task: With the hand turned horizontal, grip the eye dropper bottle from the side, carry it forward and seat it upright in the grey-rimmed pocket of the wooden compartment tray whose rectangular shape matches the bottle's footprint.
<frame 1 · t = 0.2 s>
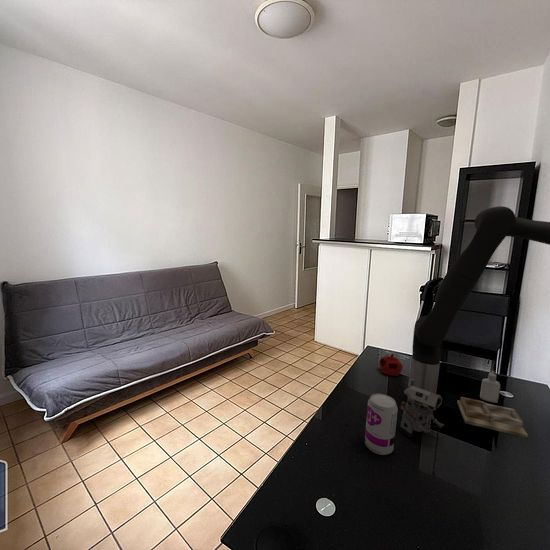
eye dropper bottle: (488, 400, 112), on the table
pomegranate: (389, 373, 132), on the table
figurine: (419, 434, 92), on the table
wooden compartment tray: (489, 418, 101), on the table
supplement can: (378, 446, 86), on the table
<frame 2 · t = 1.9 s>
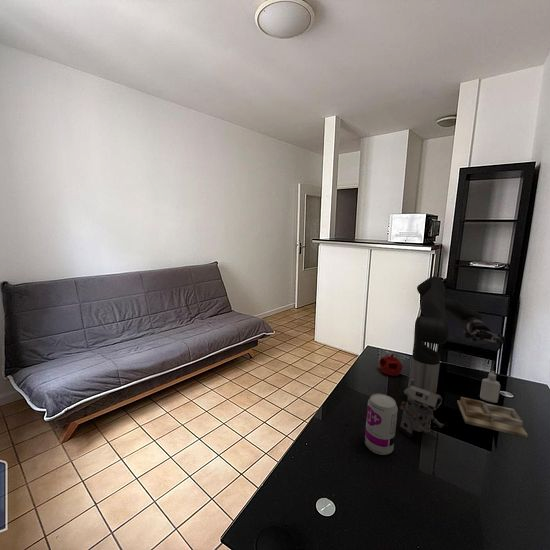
hand: (488, 341, 119), 20 cm above the table, tool horizontal, fingers open, 8 cm apart
nothing on the table moved.
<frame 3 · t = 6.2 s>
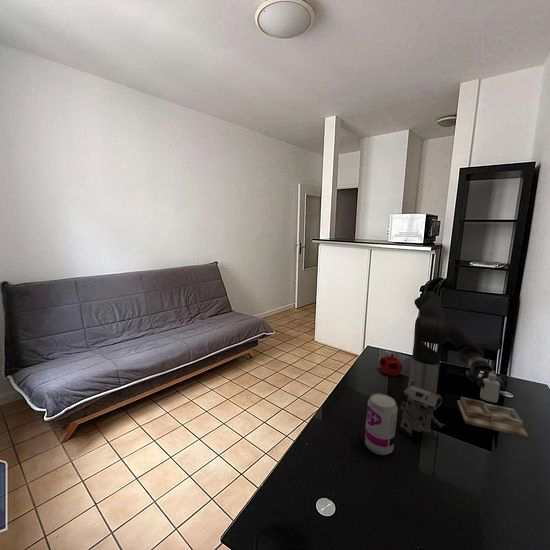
hand: (493, 387, 109), 7 cm above the table, tool horizontal, fingers closed on eye dropper bottle, 5 cm apart
eye dropper bottle: (488, 400, 112), on the table, touching gripper
everything else where it was.
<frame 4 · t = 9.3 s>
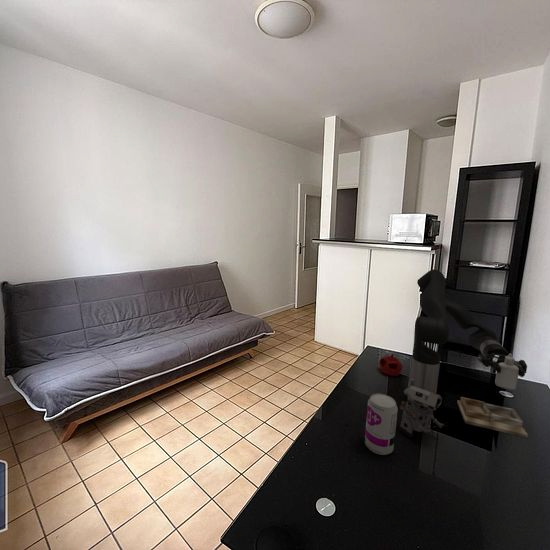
hand: (510, 372, 95), 19 cm above the table, tool horizontal, fingers closed on eye dropper bottle, 5 cm apart
eye dropper bottle: (504, 387, 99), point 12 cm above the table, touching gripper
everything else where it was.
when the fingers open (8 cm above the table, at t = 12.4 s): eye dropper bottle stays where it is, resting on wooden compartment tray.
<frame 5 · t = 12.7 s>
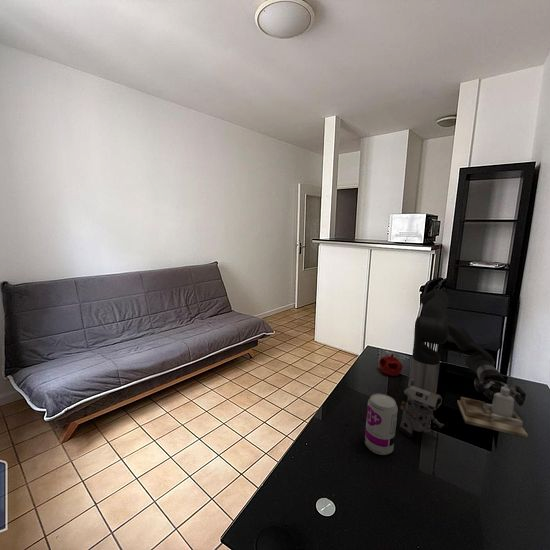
hand: (505, 400, 97), 9 cm above the table, tool horizontal, fingers open, 8 cm apart
eye dropper bottle: (500, 417, 100), point 1 cm above the table, touching wooden compartment tray
everything else where it was.
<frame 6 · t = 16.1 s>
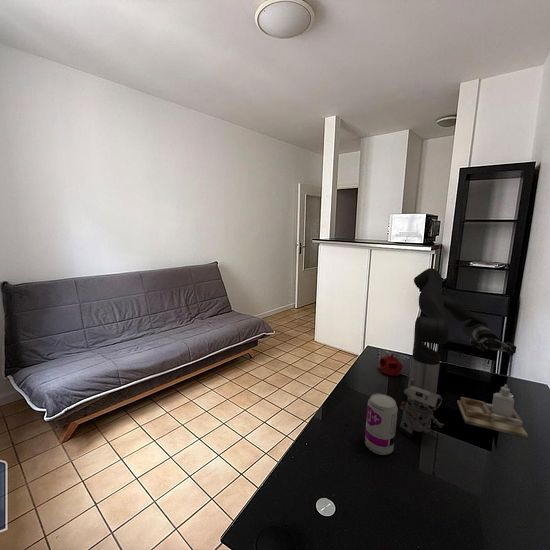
hand: (497, 351, 108), 21 cm above the table, tool horizontal, fingers open, 8 cm apart
nothing on the table moved.
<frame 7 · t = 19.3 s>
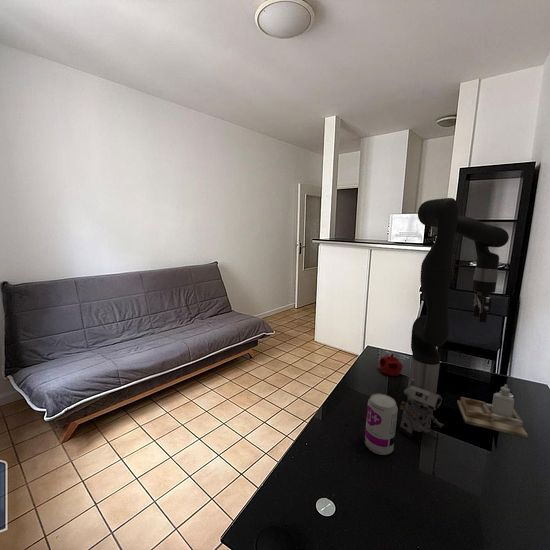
hand: (479, 319, 116), 30 cm above the table, tool pointing down, fingers open, 8 cm apart
nothing on the table moved.
at the end: eye dropper bottle 0.1 cm from the target spot on the wooden compartment tray, point 0.8 cm above the wooden compartment tray's base; eye dropper bottle tilted 0°; the gripper is holding nothing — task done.
